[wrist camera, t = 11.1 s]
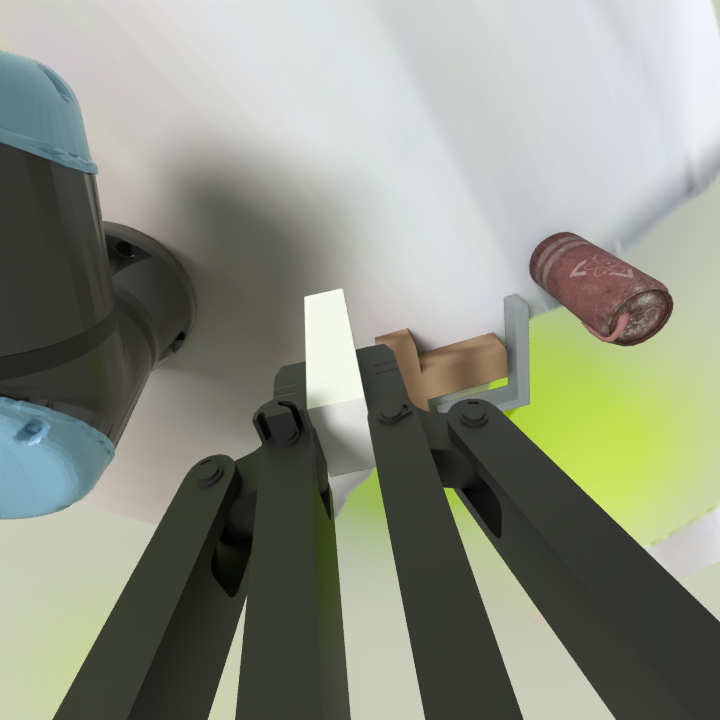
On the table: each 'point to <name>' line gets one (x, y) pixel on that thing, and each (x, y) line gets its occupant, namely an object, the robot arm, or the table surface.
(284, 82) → the table surface
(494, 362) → the t block
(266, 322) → the table surface
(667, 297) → the can
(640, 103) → the table surface
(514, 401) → the bracket
